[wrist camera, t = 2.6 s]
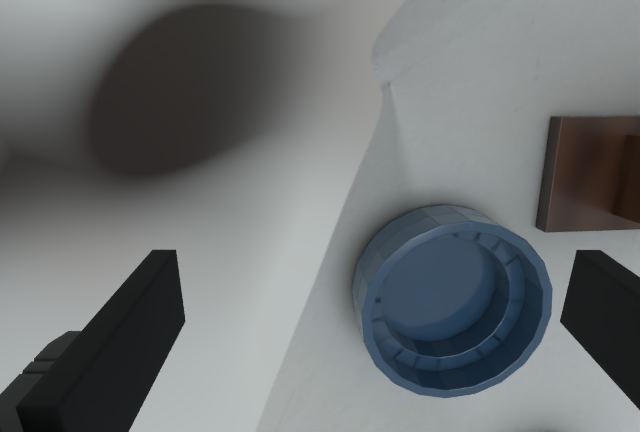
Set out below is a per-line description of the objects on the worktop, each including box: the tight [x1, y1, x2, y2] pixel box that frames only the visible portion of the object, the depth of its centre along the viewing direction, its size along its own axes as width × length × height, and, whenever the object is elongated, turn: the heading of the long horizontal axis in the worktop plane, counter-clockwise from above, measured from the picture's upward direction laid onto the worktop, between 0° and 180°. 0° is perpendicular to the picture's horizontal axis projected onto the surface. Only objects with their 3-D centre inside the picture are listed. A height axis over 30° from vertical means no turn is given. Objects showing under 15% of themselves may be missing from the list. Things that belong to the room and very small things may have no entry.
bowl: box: [352, 205, 552, 398], centre depth 37 cm, size 16×16×6 cm
